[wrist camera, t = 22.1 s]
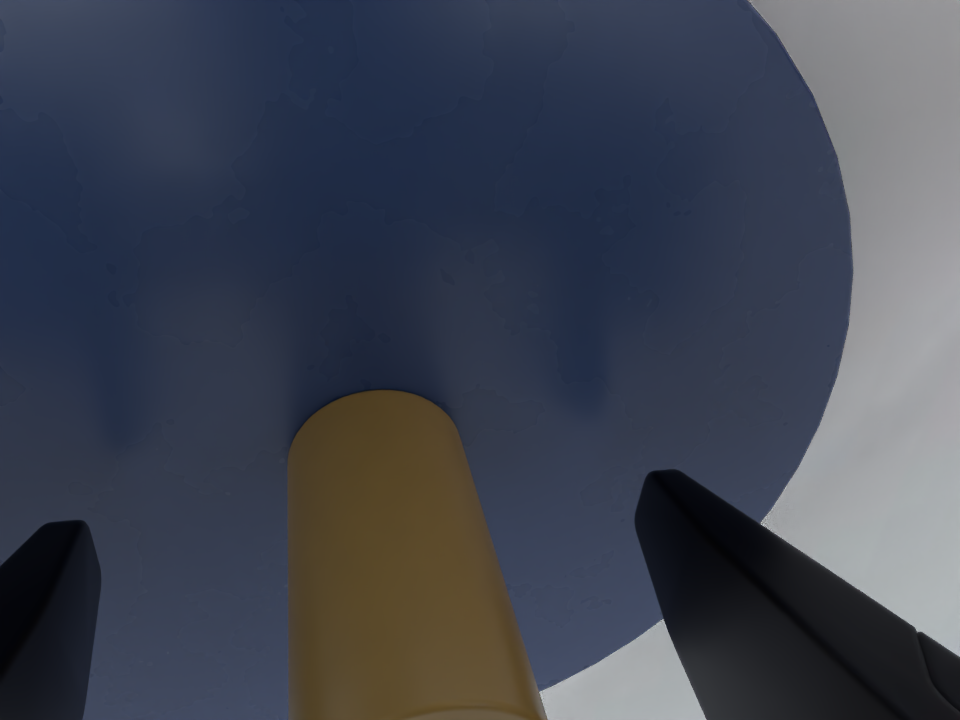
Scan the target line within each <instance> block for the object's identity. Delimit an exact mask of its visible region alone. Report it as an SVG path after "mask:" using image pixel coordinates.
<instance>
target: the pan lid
mask: <svg viewBox="0 0 960 720" xmlns="http://www.w3.org/2000/svg"><path fill="white" fill-rule="evenodd" d="M852 281H853V259H852V242H851V225H850V213H849V209H848V204H847V199H846V195H845V190H844V186H843V181H842V176H841V172H840V167H839V163H838V158H837V155H836V152H835V150H834V147H833V145H832V142H831V139H830V137H829V134H828V132H827V129H826V127H825V124H824V122H823V119H822V117H821V114H820V112H819V109H818V106H817V104H816V101H815V99H814V96H813V94H812V92H811V91H810V89H809V87H808V86H807V84H806V82H805V81H804V79H803V77H802V76H801V74H800V72H799V71H798V69H797V67H796V66H795V64H794V62H793V61H792V59H791V57H790V56H789V54H788V52H787V51H786V49H785V47H784V46H783V44H782V42H781V41H780V39H779V37H778V36H777V34H776V33H775V32H774V31H773V29H772V28H771V27H770V26H769V25H768V24H767V22H766V21H765V20H764V19H763V18H762V17H761V15H760V14H759V13H758V12H757V11H756V10H755V8H754V7H753V6H752V5H751V4H750V3H749V1H748V0H0V566H1V565H2V564H3V563H4V562H5V561H6V560H7V559H8V558H9V557H10V556H11V555H12V554H13V553H14V552H15V551H16V550H17V549H18V548H19V547H20V546H21V545H22V544H23V543H25V542H26V541H27V540H28V539H29V538H30V537H31V536H32V535H33V534H34V533H35V532H36V531H37V530H38V529H39V528H40V527H41V526H43V525H44V524H46V523H49V522H57V521H68V520H83V521H85V522H86V523H87V525H88V526H89V528H90V532H91V535H92V539H93V542H94V546H95V550H96V553H97V557H98V561H99V564H100V568H101V592H100V600H99V607H98V615H97V622H96V630H95V637H94V645H93V652H92V660H91V667H90V675H89V682H88V690H87V696H86V703H85V709H84V715H83V720H548V719H547V716H546V713H545V710H544V707H543V703H542V700H541V697H540V694H539V692H540V691H542V690H544V689H546V688H549V687H551V686H553V685H556V684H557V683H559V682H561V681H563V680H565V679H567V678H569V677H571V676H573V675H575V674H577V673H578V672H580V671H582V670H584V669H586V668H588V667H590V666H592V665H594V664H596V663H597V662H599V661H601V660H602V659H604V658H605V657H607V656H609V655H610V654H612V653H613V652H615V651H617V650H618V649H620V648H622V647H623V646H625V645H626V644H628V643H630V642H631V641H633V640H634V639H636V638H637V637H639V636H640V635H641V634H643V633H644V632H646V631H647V630H648V629H650V628H651V627H652V626H654V625H655V624H656V623H658V622H659V621H660V620H662V619H663V615H662V612H661V609H660V606H659V603H658V600H657V596H656V593H655V590H654V587H653V584H652V581H651V578H650V574H649V571H648V568H647V565H646V562H645V559H644V556H643V552H642V549H641V546H640V543H639V540H638V537H637V534H636V530H635V523H634V518H635V511H636V508H637V504H638V501H639V497H640V494H641V490H642V487H643V483H644V480H645V477H646V476H647V474H648V473H649V472H651V471H656V470H668V469H676V470H679V471H681V472H683V473H684V474H686V475H687V476H689V477H690V478H692V479H693V480H695V481H696V482H698V483H699V484H701V485H702V486H704V487H705V488H707V489H708V490H710V491H711V492H713V493H714V494H716V495H717V496H719V497H720V498H722V499H723V500H725V501H726V502H728V503H729V504H731V505H732V506H734V507H735V508H737V509H738V510H740V511H741V512H743V513H744V514H746V515H747V516H749V517H750V518H752V519H753V520H755V521H756V522H758V523H759V524H760V522H761V521H762V520H763V519H764V517H765V516H766V515H767V514H768V512H769V511H770V510H771V509H772V507H773V506H774V504H775V503H776V501H777V499H778V498H779V496H780V495H781V493H782V492H783V490H784V489H785V487H786V485H787V484H788V482H789V481H790V479H791V478H792V476H793V475H794V473H795V472H796V470H797V468H798V467H799V465H800V463H801V461H802V459H803V457H804V455H805V453H806V451H807V449H808V447H809V445H810V443H811V441H812V439H813V437H814V435H815V433H816V431H817V429H818V427H819V425H820V422H821V420H822V417H823V414H824V411H825V409H826V406H827V403H828V400H829V398H830V395H831V392H832V389H833V387H834V384H835V381H836V378H837V375H838V371H839V366H840V362H841V357H842V353H843V348H844V344H845V340H846V335H847V331H848V326H849V316H850V304H851V292H852Z"/></svg>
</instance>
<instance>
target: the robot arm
mask: <svg viewBox="0 0 960 720" xmlns="http://www.w3.org/2000/svg"><path fill="white" fill-rule="evenodd" d="M634 523H635V530H636V534H637V537H638V540H639V543H640V546H641V549H642V552H643V556H644V559H645V562H646V565H647V568H648V571H649V574H650V578H651V581H652V584H653V587H654V590H655V593H656V596H657V600H658V603H659V606H660V609H661V612H662V615H663V618H664V621H665V624H666V627H667V629H668V632H669V635H670V637H671V639H672V642H673V644H674V647H675V649H676V651H677V654H678V656H679V658H680V660H681V663H682V665H683V667H684V669H685V672H686V674H687V676H688V679H689V681H690V683H691V685H692V688H693V690H694V692H695V694H696V697H697V699H698V701H699V703H700V706H701V708H702V710H703V713H704V715H705V717H706V719H707V720H960V657H959V656H957V655H956V654H954V653H953V652H951V651H950V650H948V649H947V648H945V647H944V646H942V645H941V644H939V643H938V642H936V641H935V640H933V639H932V638H930V637H929V636H927V635H926V634H924V633H923V632H917V631H916V629H915V627H913V626H912V625H910V624H909V623H907V622H906V621H904V620H903V619H901V618H900V617H898V616H897V615H895V614H894V613H892V612H891V611H889V610H888V609H886V608H885V607H883V606H882V605H880V604H879V603H877V602H876V601H875V600H873V599H872V598H870V597H869V596H867V595H866V594H864V593H863V592H861V591H860V590H858V589H857V588H855V587H854V586H852V585H851V584H849V583H848V582H846V581H845V580H843V579H842V578H840V577H839V576H837V575H836V574H834V573H833V572H831V571H830V570H828V569H827V568H825V567H824V566H822V565H821V564H819V563H818V562H816V561H815V560H813V559H812V558H810V557H809V556H807V555H806V554H804V553H803V552H801V551H800V550H798V549H797V548H795V547H794V546H792V545H791V544H789V543H788V542H786V541H785V540H783V539H782V538H780V537H779V536H777V535H776V534H774V533H773V532H771V531H770V530H768V529H767V528H765V527H764V526H762V525H761V524H759V523H758V522H756V521H755V520H753V519H752V518H750V517H749V516H747V515H746V514H744V513H743V512H741V511H740V510H738V509H737V508H735V507H734V506H732V505H731V504H729V503H728V502H726V501H725V500H723V499H722V498H720V497H719V496H717V495H716V494H714V493H713V492H711V491H710V490H708V489H707V488H705V487H704V486H702V485H701V484H699V483H698V482H696V481H695V480H693V479H692V478H690V477H689V476H687V475H686V474H684V473H683V472H681V471H679V470H676V469H668V470H656V471H651V472H649V473H648V474H647V476H646V477H645V480H644V483H643V487H642V490H641V494H640V497H639V501H638V504H637V508H636V511H635V518H634ZM100 592H101V568H100V564H99V561H98V557H97V553H96V550H95V546H94V542H93V539H92V535H91V532H90V528H89V526H88V525H87V523H86V522H85V521H83V520H68V521H57V522H49V523H46V524H44V525H43V526H41V527H40V528H39V529H38V530H37V531H36V532H35V533H34V534H33V535H32V536H31V537H30V538H29V539H28V540H27V541H26V542H25V543H23V544H22V545H21V546H20V547H19V548H18V549H17V550H16V551H15V552H14V553H13V554H12V555H11V556H10V557H9V558H8V559H7V560H6V561H5V562H4V563H3V564H2V565H1V566H0V720H83V715H84V709H85V703H86V696H87V690H88V682H89V675H90V667H91V660H92V652H93V645H94V637H95V630H96V622H97V615H98V607H99V600H100Z"/></svg>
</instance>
